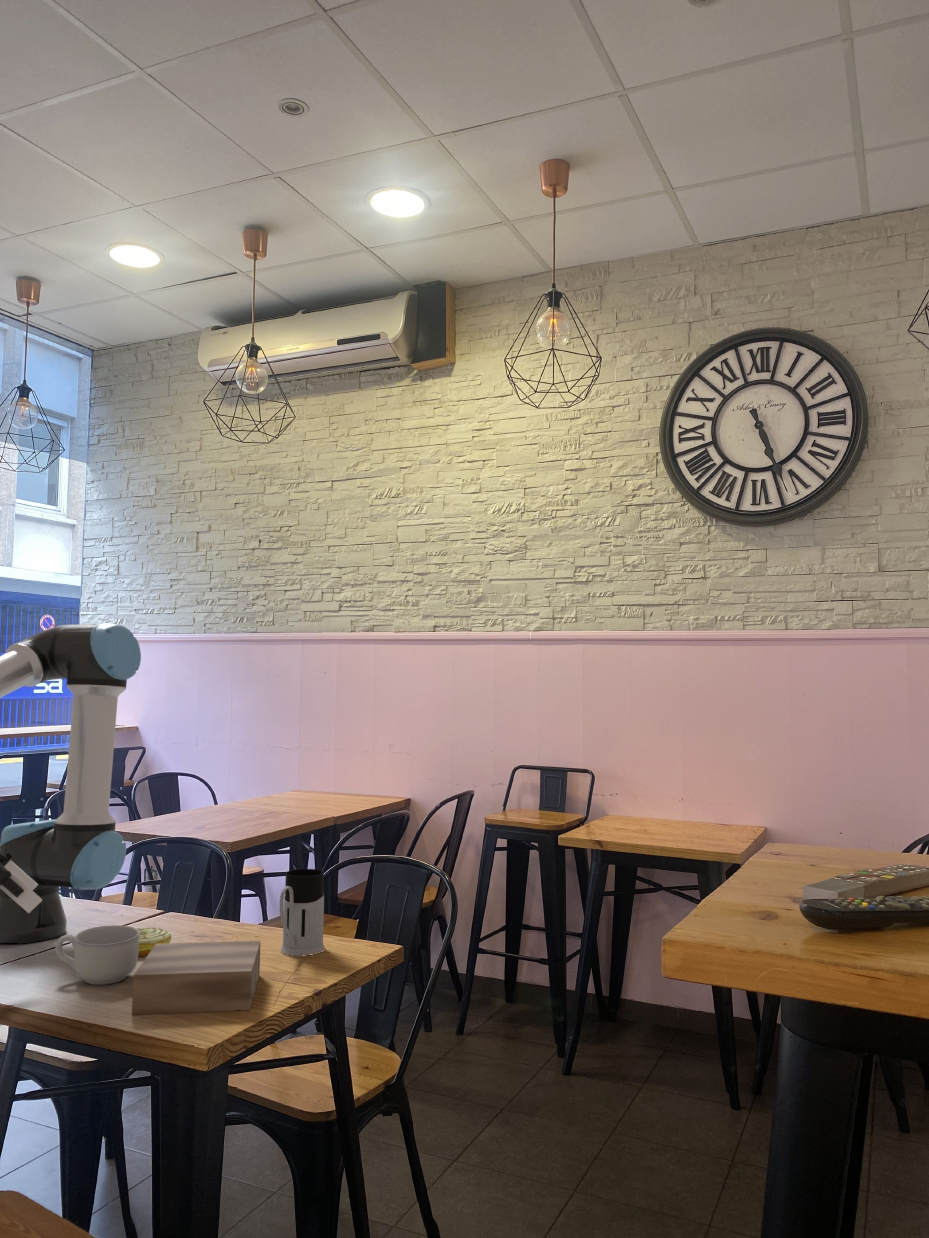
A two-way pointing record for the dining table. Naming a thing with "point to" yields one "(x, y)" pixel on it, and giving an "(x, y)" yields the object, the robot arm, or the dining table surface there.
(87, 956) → the teacup
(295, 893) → the glass holder
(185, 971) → the block
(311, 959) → the dining table surface
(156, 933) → the decorated donut
